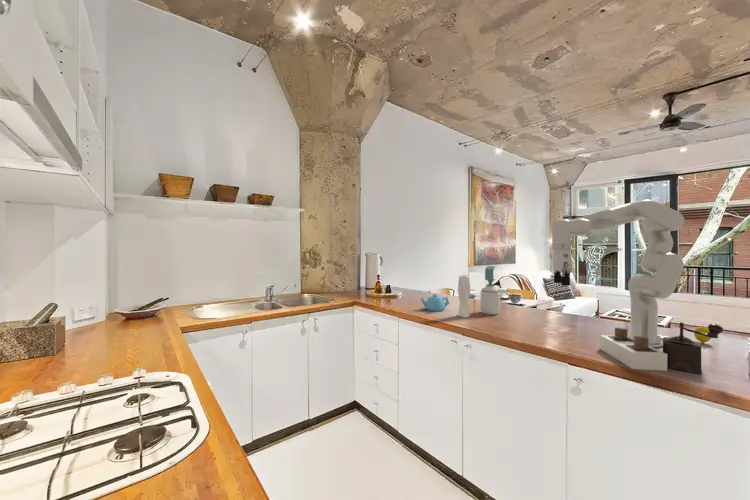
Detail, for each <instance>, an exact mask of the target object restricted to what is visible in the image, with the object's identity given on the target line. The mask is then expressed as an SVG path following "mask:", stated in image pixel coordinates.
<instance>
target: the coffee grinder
mask: <svg viewBox="0 0 750 500" xmlns="http://www.w3.org/2000/svg"><path fill="white" fill-rule="evenodd" d="M678 328H679V335H677V336H676V335H675V336H672V337H671V336H670V337H669V336H663V337H664V338H663V341H662V352H664V353H666V354H667V369H670V370H676V371H679V372H680V371H681V372H686V373H693V374H694V373H695V374H700V375H701V374H702V373H703V370H702V345H701V344H702V343H701V342H700V341H697V340H695V341H694V340H692V339H690V338H688V337H687V336H686V337H685V336H684V330H685V331H687V332H691V333H693V334H694V333H697V334H700V335H703V336H706V337H710V338H711V339H719V334H721V333H723V332H724V328H723V327H722V326H721V325H719V324H716V323H710V324H709V325H707V328H708V329H709V333H708V334H705V333H702V332H698V331H695V329H690V328H687V327H685V323H684V322H682V321H681V322H679V326H678Z"/></svg>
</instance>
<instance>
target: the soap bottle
mask: <svg viewBox="0 0 750 500" xmlns="http://www.w3.org/2000/svg"><path fill="white" fill-rule="evenodd" d="M495 266H496V265H495ZM495 266H493V265H487V266H486V267H485V269H484V279H485V281H487V282H488V283H487V284H486V285H485V287H483V288H482V289H481V290H480V311H481V312H482V313H483V314H485V315H489V316H494V315H495V316H496V315H498V314H499V313H500V312H501V292H500V290H499V289H498V288H497V287H496V286H495V284H493V283H494V281H495V280H496V278H494V270H495V268H496V267H495Z"/></svg>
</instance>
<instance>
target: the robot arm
mask: <svg viewBox="0 0 750 500" xmlns="http://www.w3.org/2000/svg"><path fill="white" fill-rule="evenodd" d="M637 221H641V226H642V228H643V229H644V232H646V234H647V238H648V243H647V245H646V249H645V251H644V253H643V256H642V258H641V261H640V268H641V270H643V271H644V272H647V273H650V274H645V273H644V274H643V273H642V274H641V273H640V274H635V275H633V276H631V277H630V279H629V280H628V292H629V296H630V297H629V298H630V321H629V322H630V327H629V328H630V329H629V332H630V335H629V337H631V338H633V339H634V336H642V337H647V338H648V339H649V343H648V346H651V347H653V348H661V347H663V338H664V337H665V336H663V335H659V334H658V311H659V309H658V308H659V305H658V301H657V299H667V298H669V297H670V296H672V295H673V294H674V292H675V290H676V288H677V285H678V284H679V280H680V278H681V276H682V273H683V270H684V267H685V266H684V261H683V258H682V257H681V256H680V255H679V254H677V253H673V252H672V250H673V247H674V239H673V236H672V234H671V233H670V232H672V231H673V232H674V231H678V230H680V229H681V228H683V226H684V225H685V217H684V216H683V214H682V213H681V212H680V211H677V210H675V209H673V208H671V207H670V206H667V205H664V204H662V203H660V202H657V201H655V200H652V199H643V200H638V201H632V202H628V203H625V204H621V205H617V206H615V207H611V208H606V209H604V210H600V211H597V212H595V213H591V214H588V215H584V216H580V217H575V218H573V219H570V220H569V219H557V220H556V219H555V220H553V221H552V222H551V237H552V238H551V240H552V241H551V244H552V245H551V246H552V247H551V249H552V251H553V259H552V260H553V263H552V265H553V283H554V284H561V286H565V287H566V286H570V285H571V272H572V271H573V265H572V264H573V262H572V253H571V250H572V237H574V236H575V237H576V236H577V237H579V236H586V235H588V234H589V233H591V232H592V231H597V230H606V229H611V228H615V227H618V226H621V225H625V224H629V223H632V222H637ZM652 274H654V275H652Z"/></svg>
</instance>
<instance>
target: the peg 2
mask: <svg viewBox="0 0 750 500" xmlns="http://www.w3.org/2000/svg"><path fill="white" fill-rule="evenodd" d="M648 343H649V339H648V338H647V337H642V336H634V348H635V349H637V350H648Z"/></svg>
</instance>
